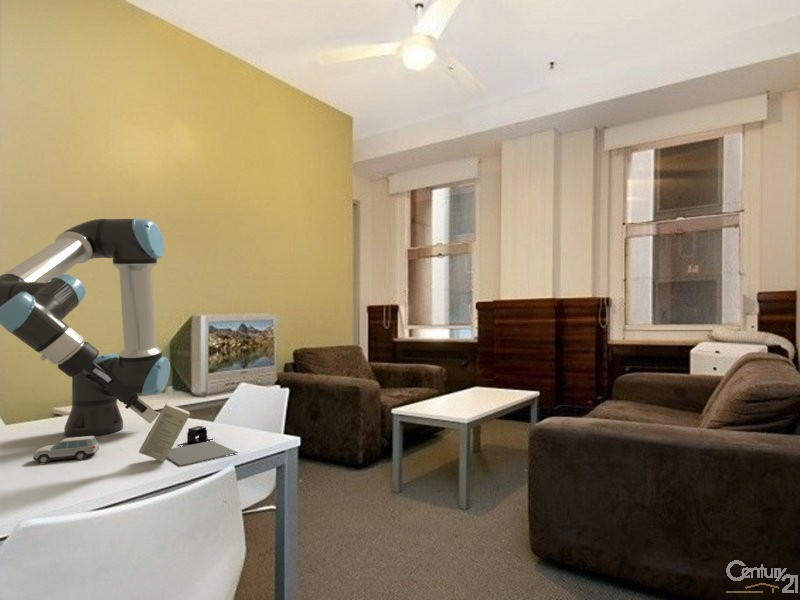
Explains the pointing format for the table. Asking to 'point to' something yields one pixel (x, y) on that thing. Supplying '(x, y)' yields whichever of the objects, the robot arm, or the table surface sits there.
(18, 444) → the table surface
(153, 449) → the skincare box
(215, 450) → the mat
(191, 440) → the black arched bracket
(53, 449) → the toy car
